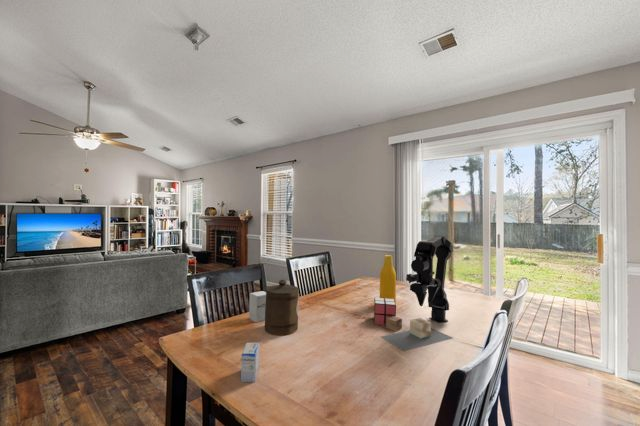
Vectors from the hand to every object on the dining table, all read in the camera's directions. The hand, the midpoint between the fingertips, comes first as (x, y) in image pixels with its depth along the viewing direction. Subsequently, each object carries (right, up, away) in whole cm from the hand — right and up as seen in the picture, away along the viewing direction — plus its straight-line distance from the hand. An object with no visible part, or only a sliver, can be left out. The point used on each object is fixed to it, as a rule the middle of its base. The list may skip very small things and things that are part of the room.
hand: (425, 303), depth 127 cm
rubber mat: (-7, -12, -8) cm, 16 cm away
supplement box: (-78, -11, +11) cm, 80 cm away
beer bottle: (-9, -13, +36) cm, 39 cm away
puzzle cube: (-16, -13, +11) cm, 23 cm away
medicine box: (-70, -11, -38) cm, 81 cm away
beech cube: (-5, -12, -6) cm, 14 cm away
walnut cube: (-14, -12, +2) cm, 19 cm away
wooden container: (-65, -11, -1) cm, 66 cm away
